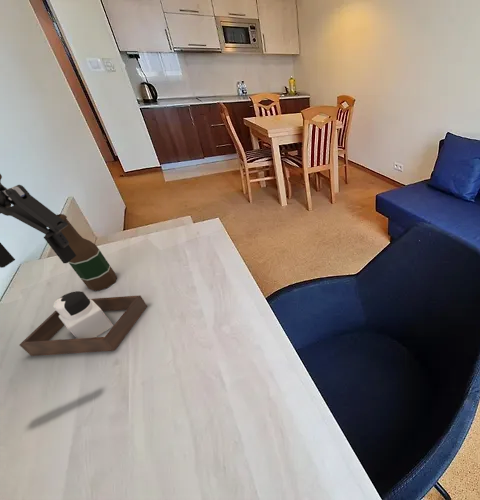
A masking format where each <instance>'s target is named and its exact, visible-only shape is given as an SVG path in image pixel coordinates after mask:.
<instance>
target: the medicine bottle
mask: <svg viewBox="0 0 480 500" xmlns="http://www.w3.org/2000/svg"><path fill="white" fill-rule="evenodd" d="M91 299H92V298H88V296H87V295H86V293H85V292H84V291H81V290H74V291H70V292H68V293H66V294H64V295H61V296H60V297H58V299H56V300H55V301H54V303H53V309H54V311H57V312H58V313H59V314H60V315H59V318H60V319H61V321H62V322H63V323H64V326H65V327H66V329H67V330H68V331H69V332H70V333H71V334H72V335H73V336H74V337H75V339H79V338H94V337H99V336H100V335H102V334H103V333H105V332H107V331H109V330H111V328H112V327H113V326H114V325H115V324H113V323H112V321H111V320H110V319H109V317H108V316H107V315H106V314H105V311H102V310H101V308H100V307H99V306H98V305H97V304H96V303H95V302H94V301H93V300H91Z"/></svg>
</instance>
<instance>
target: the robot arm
mask: <svg viewBox="0 0 480 500" xmlns="http://www.w3.org/2000/svg"><path fill="white" fill-rule="evenodd" d="M2 179H3V176H2V174H1V173H0V214H2V215H3V216H7V217H13V218H14V219H16V220H18V221H19V222H22V223H23V224H25V225H27V226H29V227H31V228H33V229H35V230H36V231H38V232H40V233H42V234H44V236H43V239H44V240H45V241H46V243H47V244H48V245H49V247H50V248H51V249H52V251H53V252H54V253H55V254H56V256H57V257H58V259H59V260H60V261H61V262H62V263H63V264H69V263H68V262H69V261H70V260H72V259H73V258H74V257H75V256H76V254H75V253H74V252H73V250H72V249H71V247H70V246H69V242H68V240H67V239H66V237H65V236H64V235H63V233H62V232H61V230H62V229H64V228H65V227H67V226H68V224H67V223H66V222H65V221H64V220H62V219H61V218H60V217H59V216H57V215H58V214H56V213H55V212H54V211H53V210H51V209H50V208H48V207H47V206H45V205H44V203H42V202H40V201H39V200H38V199H37V198H35V197H34V196H33V195H32V194H31V193H30V192H29V190H27V189H26V188H25V186H23V185H22V184H17V185H14V186H12V187H9V188H7V187H5V185H3V184H2V183H1V182H2V181H1V180H2ZM15 261H16V258H15V257H14V256H13V255H12V254H11V253H10V252H9V251H8V249H7V248H6V247H5V246H4V244H2V243H1V242H0V268H1V269H2V268H6V267H7V266H8V265H10V264H12V263H13V262H15Z"/></svg>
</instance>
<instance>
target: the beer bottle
mask: <svg viewBox="0 0 480 500" xmlns="http://www.w3.org/2000/svg"><path fill="white" fill-rule="evenodd" d="M56 215H57V216H59V217H60V218H61V219H62V220H64V221H65V222H66V223H67V224H68V226H67V227H65V228H64V229H62V230H61V232H62V233H63V235H64V236H65V237H66V239H67V240H68V242H69V246H70V247H71V249H72V250H73V252H74V253H75V254H76V256H75V257H74V258H73V259H72V260H70V261H69V262H68V263H67V264H69V265H70V267H71V268H72V270H73V271H74V272H75V273H76V275H77V276H78V277H79V278H80V280H81V281H82V282H83V284H84V285H85V286H86V287H87V288H88V290H91V291H94V292H99V291H102V290H106V289H108V288H110V287H111V286H113V285H114V284H116V282H117V279H118V278H117V274H116V272H115V271H114V269H113V267H111V265H110V263H109V262H108V260H107V259H106V257H105V256H104V254H103V253H102V251H101V250H100V248H99V247H98V246H97V245H96V244H95V243H94V242H92V241H91V240H89V239H87V238H84V237H83V236H82V235H81V234H79V232H78V231H77V230H76V229H75V227H74V226H73V225H72V223H70V221H69V220H68V219H67V217H68V216H67V215H65V214H64V213H58V214H56Z"/></svg>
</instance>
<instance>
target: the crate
mask: <svg viewBox="0 0 480 500" xmlns="http://www.w3.org/2000/svg"><path fill="white" fill-rule="evenodd" d="M90 299H91V300H93V301H94V302H95V303H96V304H97V305H98V306H99V307H100V308H101V310H102V311H103V312H111V311H124V312H123V313H122V315H121V316H120V317H119V318H118V319H117V321H116V322H115V323H114V324H113V325H114V326H113V327H111V328H110V329H109V330H108V332H107V333H106V334H105V336H97V337H94V338H79V339H77V338H66V339H53V337H54V336H55V335H56V334H57V333H58V332H59V331H60V330H61V329H62V328H63V327H64V326H65V325H64V323H63V322H62V321H61V319H60V318H59V315H60V314H59V313H58V312H57V311H56V310H54V311H53V312H52V313H51V314H50V315H49V316H48V317H47V318H46V319H45V320H44V321H43V322H41V323H40V325H38V327H36V328H35V329H34V330H33V331H31V333H30V334H28V336H26V337H25V338H24V340H22V342H20V343H19V346H20V347H21V348H22V349H23V350H24V351H25V352H26V353H27V354H28V355H29V356H31V357H39V356H52V355H68V354H69V355H71V354H84V353H85V354H86V353H99V352H114V351H116V350H117V349H118V348H119V346H120V344H121V343H122V342H123V340H124V339H125V338H126V336H128V334H129V333H130V331H131V330H132V328H133V327H134V325H135V324H136V323H137V321H138V320H139V318H141V316H142V315H143V313H144V312H145V311H146V309H147V308H148V305H147V303H146V302H145V300H144V298H143V297H142V295H140V294H139V295H127V296H111V297H110V296H109V297H95V298H90Z"/></svg>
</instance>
